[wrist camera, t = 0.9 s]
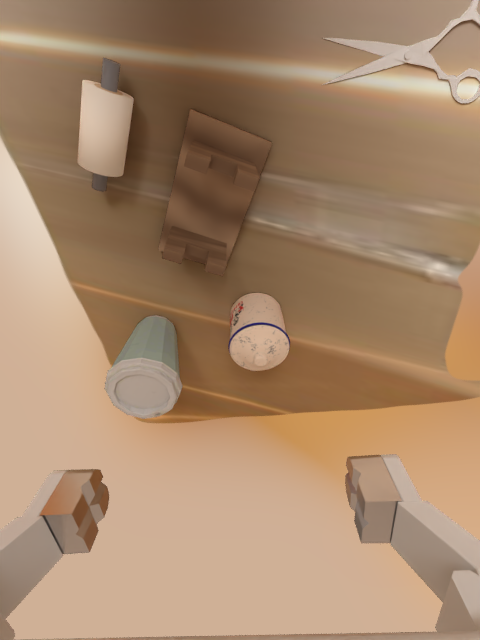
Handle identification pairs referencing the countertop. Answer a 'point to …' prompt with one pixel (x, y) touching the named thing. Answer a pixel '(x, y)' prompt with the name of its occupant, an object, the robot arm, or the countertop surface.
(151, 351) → the disposable coffee cup
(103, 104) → the paper roll
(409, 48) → the scissors
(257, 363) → the teacup with lid
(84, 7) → the countertop surface
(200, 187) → the roll holder
